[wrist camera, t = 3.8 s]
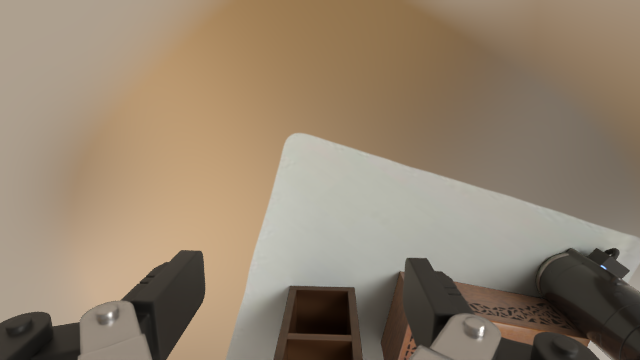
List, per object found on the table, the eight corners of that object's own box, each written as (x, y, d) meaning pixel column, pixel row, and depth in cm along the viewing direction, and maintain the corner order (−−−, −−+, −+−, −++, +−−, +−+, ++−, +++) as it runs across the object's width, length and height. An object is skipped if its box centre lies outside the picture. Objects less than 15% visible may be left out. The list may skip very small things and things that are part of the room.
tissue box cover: (380, 342, 61) (389, 388, 52) (399, 271, 58) (413, 305, 48) (520, 369, 61) (555, 419, 52) (547, 299, 58) (590, 339, 48)
